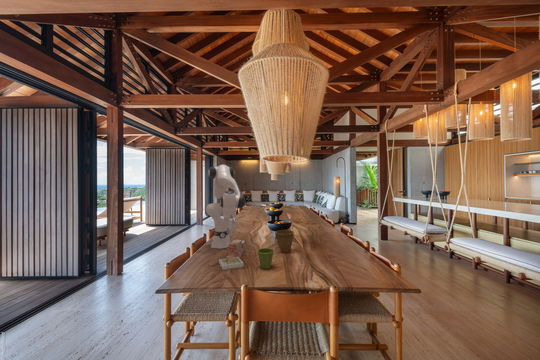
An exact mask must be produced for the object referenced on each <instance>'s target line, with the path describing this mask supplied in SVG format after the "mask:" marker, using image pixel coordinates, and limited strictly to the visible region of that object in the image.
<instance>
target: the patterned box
mask: <svg viewBox="0 0 540 360" xmlns="http://www.w3.org/2000/svg"><path fill="white" fill-rule="evenodd" d="M245 253H246V240H242V239H233V240H232V241H230V244H229V247H228V256H233V255H234V257H239V258H240V259H241V257H242V256H243V255H244V254H245Z"/></svg>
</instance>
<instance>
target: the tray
mask: <svg viewBox="0 0 540 360" xmlns="http://www.w3.org/2000/svg"><path fill="white" fill-rule="evenodd" d="M218 264H220V265H219V266H220V269H221V270H222V271H228V270H234V269H240V268H244V267H245V265H244V264H245V263H244V262H243V260H242V259H241V257H240V258H239V257H235V264H229V265H227V258H220V259H218Z"/></svg>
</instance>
